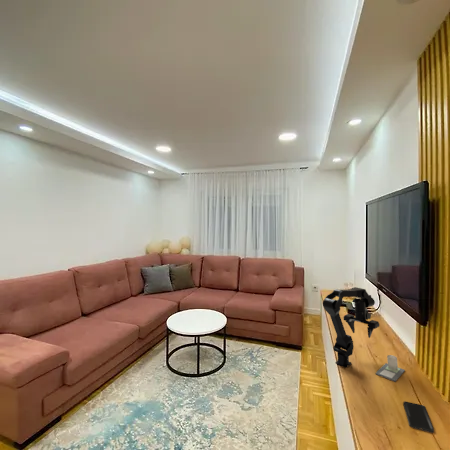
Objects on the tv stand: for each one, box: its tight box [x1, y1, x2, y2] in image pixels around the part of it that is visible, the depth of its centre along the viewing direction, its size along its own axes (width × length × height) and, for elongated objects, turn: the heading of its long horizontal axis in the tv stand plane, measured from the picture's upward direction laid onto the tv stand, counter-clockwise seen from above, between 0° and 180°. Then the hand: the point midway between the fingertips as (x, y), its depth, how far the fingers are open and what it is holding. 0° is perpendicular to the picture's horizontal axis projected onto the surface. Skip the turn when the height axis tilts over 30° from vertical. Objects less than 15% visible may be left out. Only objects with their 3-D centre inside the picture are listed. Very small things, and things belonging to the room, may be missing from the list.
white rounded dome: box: [386, 354, 399, 371], centre depth 137 cm, size 4×4×6 cm
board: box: [375, 362, 406, 383], centre depth 135 cm, size 14×9×1 cm, turn 129°
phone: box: [402, 400, 435, 434], centre depth 104 cm, size 8×1×15 cm
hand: (361, 335), depth 154 cm, fingers open, 9 cm apart
